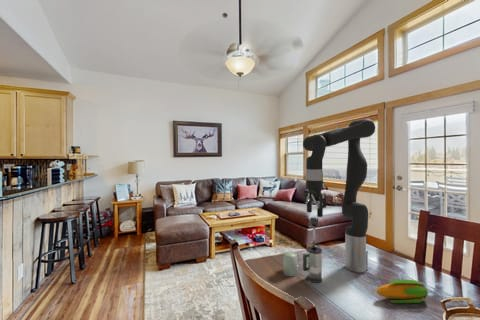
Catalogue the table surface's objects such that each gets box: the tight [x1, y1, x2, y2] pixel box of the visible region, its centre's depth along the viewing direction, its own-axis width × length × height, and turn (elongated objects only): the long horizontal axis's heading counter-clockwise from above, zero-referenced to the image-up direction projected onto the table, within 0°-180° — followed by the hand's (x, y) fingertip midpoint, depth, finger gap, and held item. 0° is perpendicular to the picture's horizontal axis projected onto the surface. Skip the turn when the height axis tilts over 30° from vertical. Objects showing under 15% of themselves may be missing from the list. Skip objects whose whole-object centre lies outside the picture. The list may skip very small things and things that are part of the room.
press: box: [302, 245, 323, 285], centre depth 101 cm, size 9×7×14 cm
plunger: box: [309, 217, 319, 249], centre depth 101 cm, size 4×4×14 cm
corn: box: [375, 279, 429, 304], centre depth 86 cm, size 7×8×20 cm
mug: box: [283, 251, 298, 277], centre depth 108 cm, size 6×8×9 cm
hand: (314, 214), depth 101 cm, fingers open, 8 cm apart
